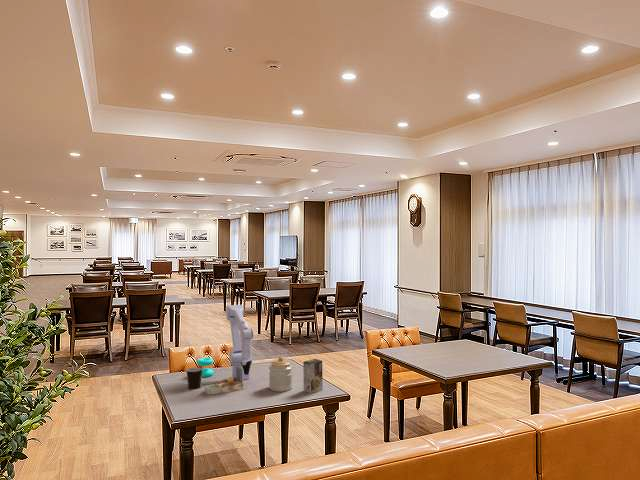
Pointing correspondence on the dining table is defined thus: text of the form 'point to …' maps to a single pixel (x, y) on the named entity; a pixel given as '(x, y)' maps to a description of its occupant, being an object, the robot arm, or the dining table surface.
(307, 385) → the coffee box
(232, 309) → the robot arm
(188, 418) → the dining table surface
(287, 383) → the jar
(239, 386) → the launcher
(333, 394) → the dining table surface
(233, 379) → the ball
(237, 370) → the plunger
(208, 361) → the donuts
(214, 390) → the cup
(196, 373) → the coffee mug
